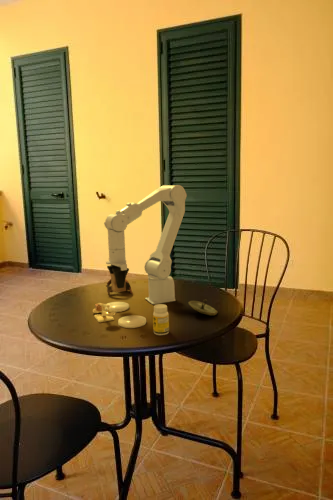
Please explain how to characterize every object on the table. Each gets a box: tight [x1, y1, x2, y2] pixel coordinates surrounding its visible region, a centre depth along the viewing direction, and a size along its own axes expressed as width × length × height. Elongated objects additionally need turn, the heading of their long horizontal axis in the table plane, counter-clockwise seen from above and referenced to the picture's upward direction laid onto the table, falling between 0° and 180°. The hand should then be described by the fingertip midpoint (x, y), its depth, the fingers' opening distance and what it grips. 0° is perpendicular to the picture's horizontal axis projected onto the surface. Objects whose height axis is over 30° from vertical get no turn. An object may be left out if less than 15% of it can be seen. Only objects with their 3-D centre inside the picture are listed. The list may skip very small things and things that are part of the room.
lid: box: [187, 299, 218, 316], centre depth 139 cm, size 11×10×5 cm
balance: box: [92, 302, 117, 323], centre depth 136 cm, size 5×17×6 cm, turn 24°
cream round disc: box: [117, 314, 147, 329], centre depth 132 cm, size 9×9×1 cm
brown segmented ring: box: [105, 278, 133, 295], centre depth 167 cm, size 12×10×8 cm
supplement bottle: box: [152, 303, 170, 336], centre depth 122 cm, size 5×5×8 cm
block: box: [110, 273, 127, 293], centre depth 144 cm, size 4×4×6 cm
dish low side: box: [105, 301, 130, 313], centre depth 147 cm, size 9×9×1 cm
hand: (118, 286), depth 145 cm, fingers closed on block, 4 cm apart
